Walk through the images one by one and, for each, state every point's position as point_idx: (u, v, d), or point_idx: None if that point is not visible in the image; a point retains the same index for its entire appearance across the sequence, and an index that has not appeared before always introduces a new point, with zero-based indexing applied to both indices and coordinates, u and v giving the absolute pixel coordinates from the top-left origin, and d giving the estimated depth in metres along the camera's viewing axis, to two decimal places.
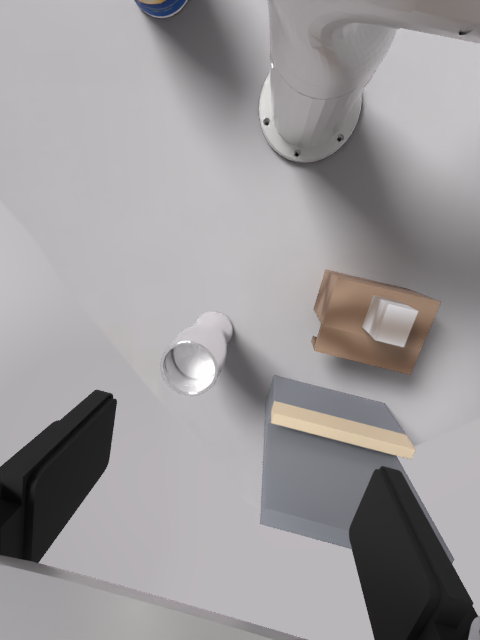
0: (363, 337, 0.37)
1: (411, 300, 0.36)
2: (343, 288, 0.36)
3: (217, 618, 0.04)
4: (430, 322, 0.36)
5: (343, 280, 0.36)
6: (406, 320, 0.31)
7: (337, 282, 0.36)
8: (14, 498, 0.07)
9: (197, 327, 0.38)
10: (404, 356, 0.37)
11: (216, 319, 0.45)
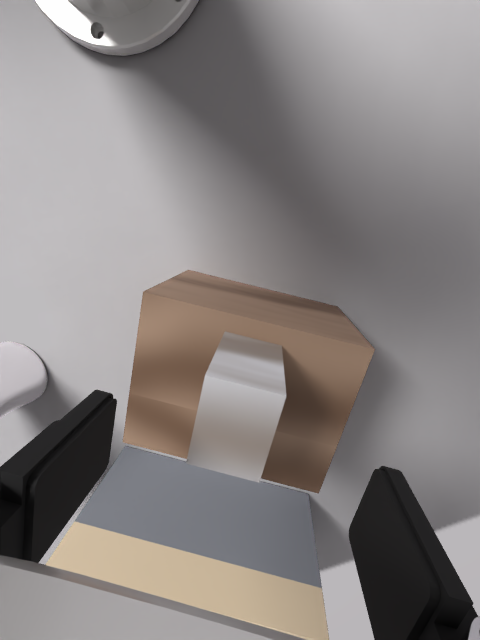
0: None
1: (308, 344, 0.16)
2: (158, 316, 0.16)
3: (217, 618, 0.04)
4: (353, 392, 0.16)
5: (155, 298, 0.16)
6: (258, 420, 0.11)
7: (143, 302, 0.16)
8: (14, 498, 0.07)
9: None
10: (303, 459, 0.18)
11: None
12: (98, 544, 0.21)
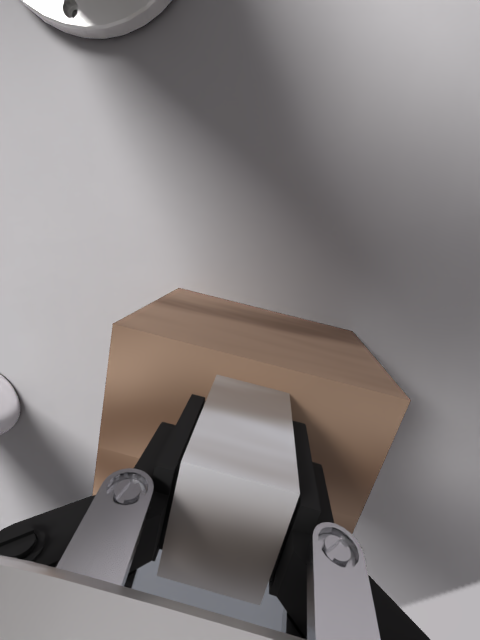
0: None
1: (323, 392, 0.12)
2: (132, 354, 0.13)
3: (217, 618, 0.04)
4: (381, 453, 0.13)
5: (128, 332, 0.12)
6: (258, 524, 0.08)
7: (114, 337, 0.12)
8: (163, 489, 0.08)
9: None
10: None
11: None
12: None
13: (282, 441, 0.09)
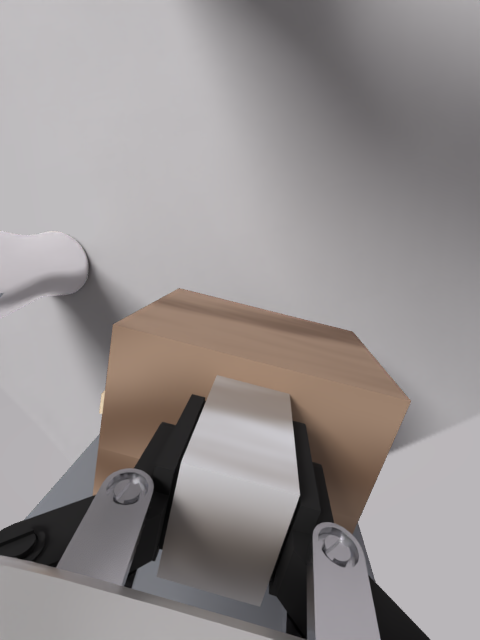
0: None
1: (323, 392, 0.12)
2: (132, 355, 0.13)
3: (217, 618, 0.04)
4: (382, 454, 0.13)
5: (128, 333, 0.12)
6: (258, 525, 0.08)
7: (114, 338, 0.12)
8: (163, 489, 0.08)
9: None
10: None
11: (44, 237, 0.26)
12: None
13: (282, 442, 0.09)
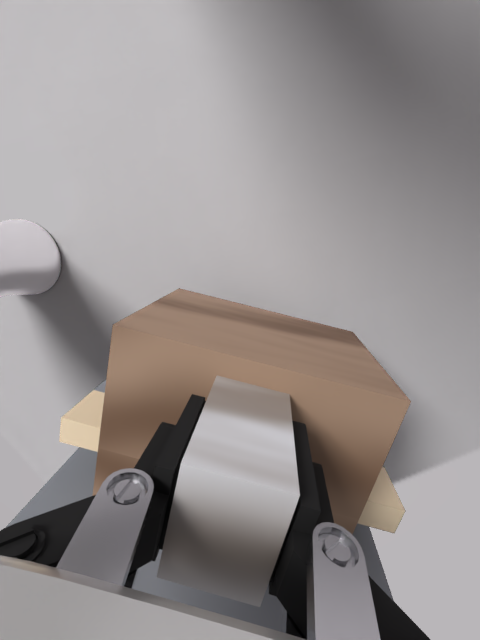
0: None
1: (323, 393, 0.12)
2: (132, 355, 0.13)
3: (217, 618, 0.04)
4: (381, 454, 0.13)
5: (128, 333, 0.12)
6: (258, 526, 0.08)
7: (113, 338, 0.12)
8: (163, 489, 0.08)
9: None
10: None
11: (3, 225, 0.22)
12: None
13: (282, 442, 0.09)
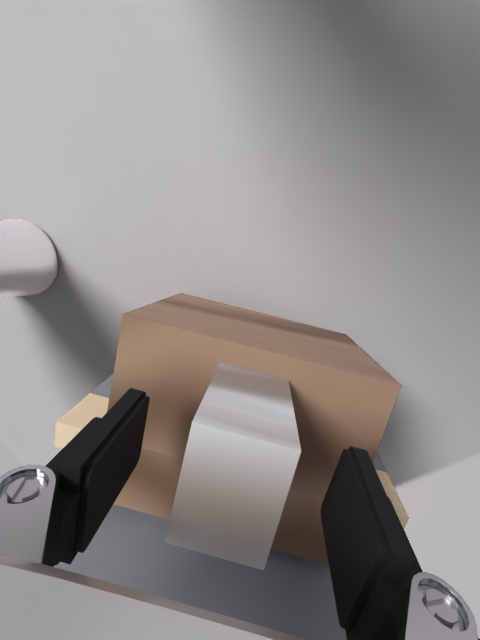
0: None
1: (320, 378, 0.13)
2: (140, 343, 0.13)
3: (217, 618, 0.04)
4: (376, 438, 0.13)
5: (137, 322, 0.13)
6: (262, 483, 0.08)
7: (123, 327, 0.13)
8: (71, 487, 0.07)
9: None
10: (315, 522, 0.14)
11: None
12: None
13: (283, 413, 0.10)
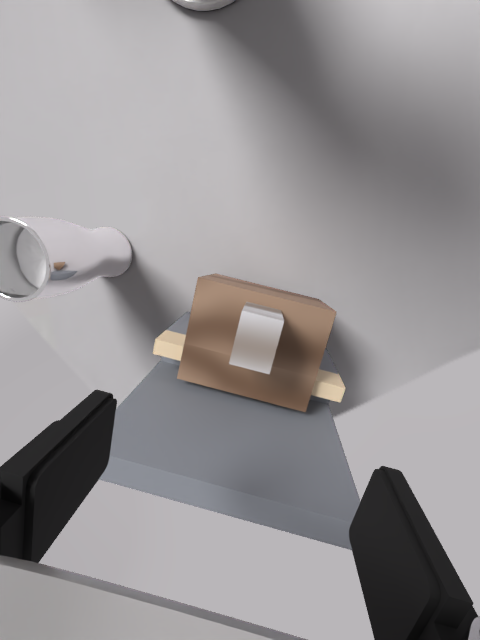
0: None
1: (296, 309, 0.26)
2: (206, 292, 0.26)
3: (217, 618, 0.04)
4: (325, 340, 0.26)
5: (205, 281, 0.26)
6: (269, 335, 0.21)
7: (198, 284, 0.26)
8: (14, 498, 0.07)
9: None
10: (295, 387, 0.27)
11: (102, 231, 0.35)
12: None
13: (277, 315, 0.23)
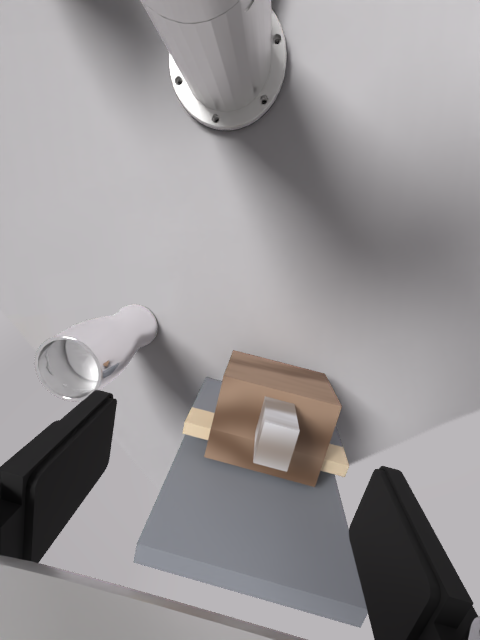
0: None
1: (308, 403, 0.30)
2: (230, 388, 0.31)
3: (217, 618, 0.04)
4: (332, 428, 0.31)
5: (230, 379, 0.31)
6: (287, 441, 0.26)
7: (223, 381, 0.31)
8: (14, 498, 0.07)
9: (91, 320, 0.32)
10: (306, 466, 0.32)
11: (133, 312, 0.39)
12: (209, 417, 0.35)
13: (293, 418, 0.27)
